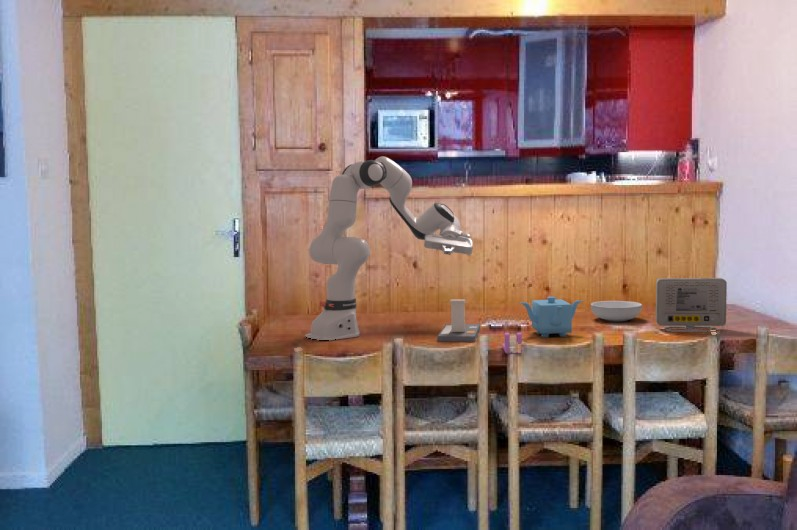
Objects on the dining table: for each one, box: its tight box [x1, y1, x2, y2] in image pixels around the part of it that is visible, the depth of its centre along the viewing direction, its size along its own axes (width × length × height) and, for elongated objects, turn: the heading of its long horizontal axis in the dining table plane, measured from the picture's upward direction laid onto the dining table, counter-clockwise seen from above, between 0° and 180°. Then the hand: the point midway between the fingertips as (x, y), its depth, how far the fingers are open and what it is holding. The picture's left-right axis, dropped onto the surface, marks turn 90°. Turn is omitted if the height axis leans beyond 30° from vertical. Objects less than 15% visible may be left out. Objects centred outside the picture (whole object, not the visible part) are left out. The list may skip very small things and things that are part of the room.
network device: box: [655, 277, 728, 333], centre depth 320 cm, size 26×9×20 cm, turn 80°
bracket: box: [502, 332, 523, 354], centre depth 293 cm, size 13×6×7 cm, turn 179°
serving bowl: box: [590, 300, 643, 323], centre depth 347 cm, size 21×21×7 cm
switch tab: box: [449, 298, 466, 332], centre depth 317 cm, size 3×6×12 cm, turn 80°
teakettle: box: [520, 296, 584, 338], centre depth 317 cm, size 19×19×15 cm
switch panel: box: [437, 323, 481, 343], centre depth 323 cm, size 26×14×2 cm, turn 170°
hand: (447, 252), depth 336 cm, fingers closed
